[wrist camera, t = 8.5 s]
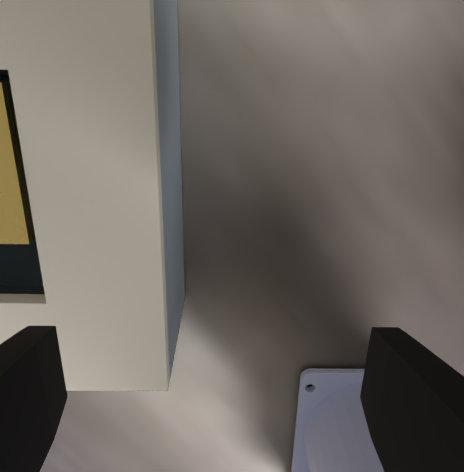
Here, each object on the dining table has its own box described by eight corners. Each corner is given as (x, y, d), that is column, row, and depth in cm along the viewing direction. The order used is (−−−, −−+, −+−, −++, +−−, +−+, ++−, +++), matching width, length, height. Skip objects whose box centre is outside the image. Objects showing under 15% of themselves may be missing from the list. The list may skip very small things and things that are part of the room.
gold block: (78, 199, 19) (29, 244, 14) (9, 198, 19) (-63, 243, 14) (63, 76, 17) (1, 82, 12) (-14, 75, 17) (-106, 80, 12)
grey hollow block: (185, 297, 21) (167, 391, 15) (-62, 294, 21) (-178, 388, 15) (176, -33, 16) (145, -91, 10) (-152, -41, 16) (-387, -104, 10)
